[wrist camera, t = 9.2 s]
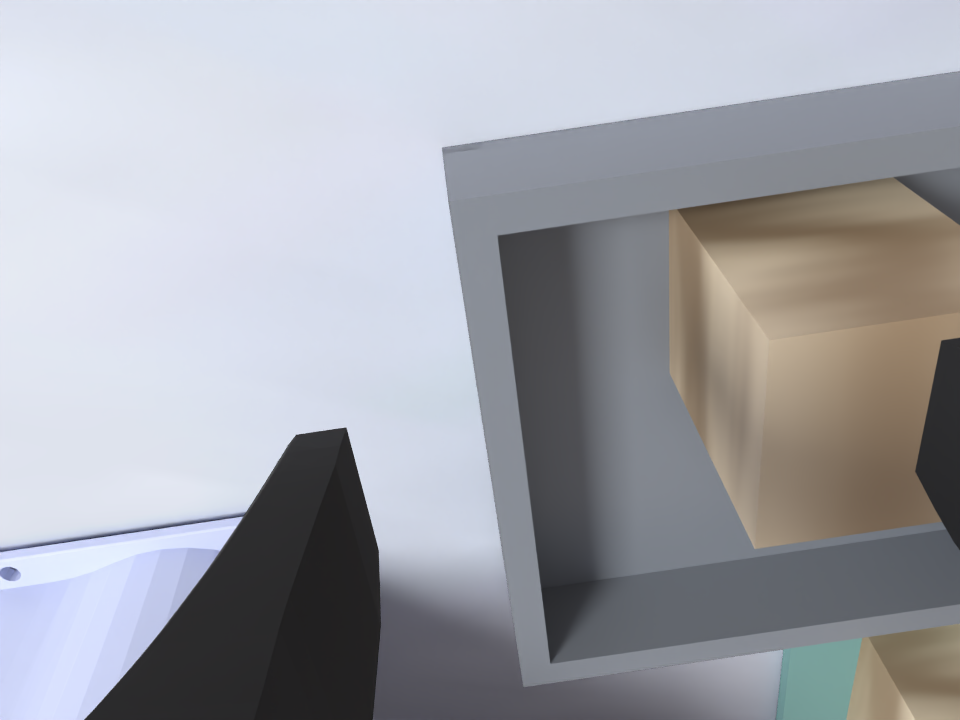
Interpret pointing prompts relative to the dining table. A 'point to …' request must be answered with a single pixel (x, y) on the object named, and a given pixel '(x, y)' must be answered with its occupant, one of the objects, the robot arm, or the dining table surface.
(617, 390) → the parts bin
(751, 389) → the plain block
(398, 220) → the dining table surface
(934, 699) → the labelled block
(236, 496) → the dining table surface
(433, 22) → the dining table surface
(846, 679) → the teal mat
